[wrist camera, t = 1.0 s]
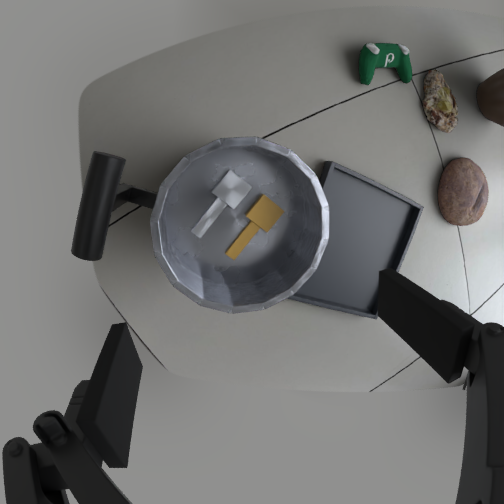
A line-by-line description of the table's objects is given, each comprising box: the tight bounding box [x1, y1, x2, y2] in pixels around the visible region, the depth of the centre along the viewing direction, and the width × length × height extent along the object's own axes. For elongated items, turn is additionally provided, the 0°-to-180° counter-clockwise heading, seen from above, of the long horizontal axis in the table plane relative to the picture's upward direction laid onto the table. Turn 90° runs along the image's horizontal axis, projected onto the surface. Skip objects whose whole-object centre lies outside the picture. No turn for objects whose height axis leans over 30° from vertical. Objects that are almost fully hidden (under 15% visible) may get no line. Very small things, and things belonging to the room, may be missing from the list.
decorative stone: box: [438, 158, 489, 226], centre depth 43 cm, size 12×12×6 cm
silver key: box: [191, 170, 252, 238], centre depth 28 cm, size 7×3×1 cm, turn 140°
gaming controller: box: [359, 43, 412, 85], centre depth 36 cm, size 9×4×6 cm
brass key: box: [225, 194, 284, 260], centre depth 30 cm, size 7×3×1 cm, turn 140°
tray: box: [288, 161, 424, 319], centre depth 44 cm, size 17×19×2 cm
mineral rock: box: [422, 69, 458, 133], centre depth 39 cm, size 11×4×8 cm
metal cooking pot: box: [71, 137, 329, 313], centre depth 23 cm, size 18×14×13 cm
